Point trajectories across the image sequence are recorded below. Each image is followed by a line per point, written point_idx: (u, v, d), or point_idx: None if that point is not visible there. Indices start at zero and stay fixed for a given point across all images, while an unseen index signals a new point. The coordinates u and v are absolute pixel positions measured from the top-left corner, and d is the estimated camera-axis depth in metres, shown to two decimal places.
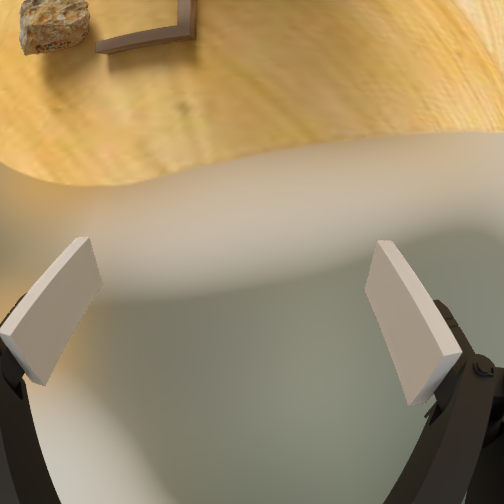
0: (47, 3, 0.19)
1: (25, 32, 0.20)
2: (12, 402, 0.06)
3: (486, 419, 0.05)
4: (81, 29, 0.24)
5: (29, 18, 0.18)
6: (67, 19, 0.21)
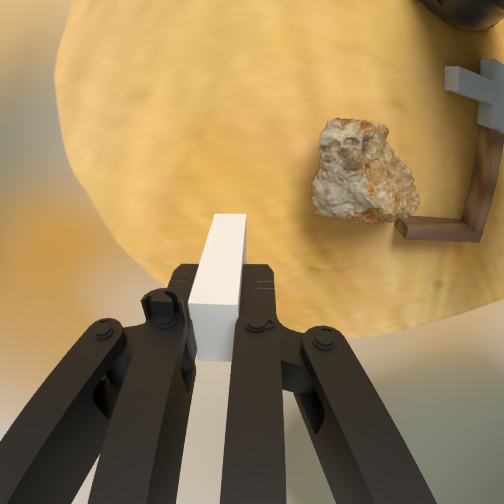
0: (374, 154, 0.24)
1: (354, 203, 0.24)
2: (179, 399, 0.07)
3: (280, 373, 0.07)
4: None
5: (383, 197, 0.22)
6: (407, 203, 0.25)
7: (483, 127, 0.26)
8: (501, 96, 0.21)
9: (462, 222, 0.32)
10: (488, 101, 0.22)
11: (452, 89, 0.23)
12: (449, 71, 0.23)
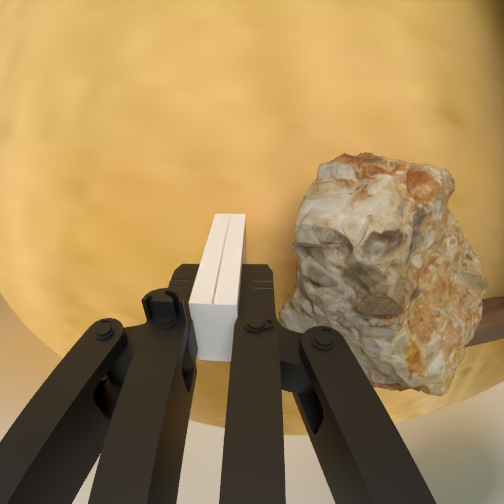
0: (427, 250, 0.10)
1: (369, 369, 0.10)
2: (180, 399, 0.07)
3: (279, 373, 0.07)
4: None
5: (437, 372, 0.08)
6: None
7: None
8: None
9: None
10: None
11: None
12: None
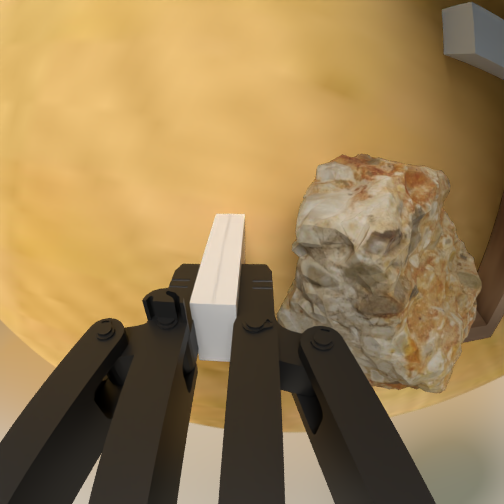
0: (424, 250, 0.10)
1: (368, 368, 0.10)
2: (180, 399, 0.07)
3: (279, 373, 0.07)
4: None
5: (436, 369, 0.08)
6: None
7: None
8: None
9: None
10: None
11: (461, 51, 0.09)
12: (451, 16, 0.09)
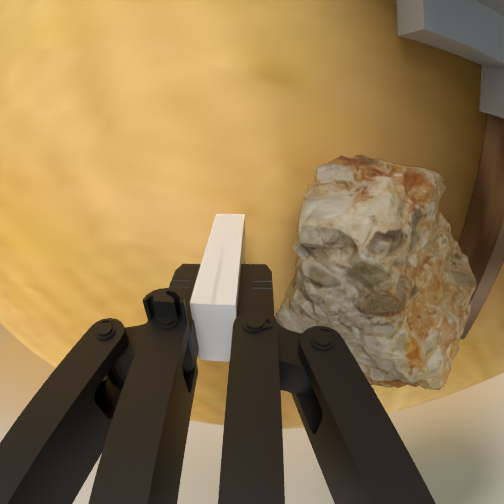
0: (422, 250, 0.10)
1: (368, 366, 0.10)
2: (181, 399, 0.07)
3: (278, 373, 0.07)
4: None
5: (435, 366, 0.08)
6: None
7: (492, 118, 0.11)
8: None
9: None
10: (502, 59, 0.08)
11: (412, 29, 0.09)
12: None
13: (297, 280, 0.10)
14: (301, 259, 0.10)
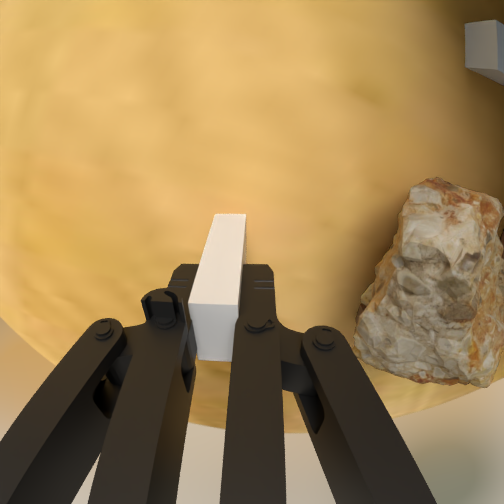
0: (483, 266, 0.10)
1: (434, 365, 0.11)
2: (179, 399, 0.07)
3: (280, 373, 0.07)
4: None
5: (488, 367, 0.09)
6: None
7: None
8: None
9: None
10: None
11: (483, 66, 0.09)
12: (475, 31, 0.09)
13: (389, 287, 0.11)
14: (397, 269, 0.10)
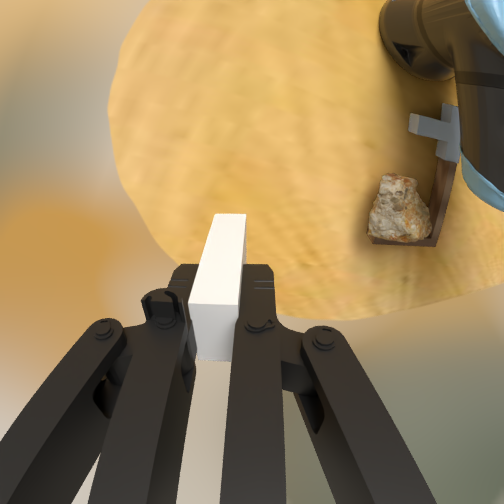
0: (409, 200, 0.37)
1: (395, 230, 0.38)
2: (179, 399, 0.07)
3: (280, 373, 0.07)
4: None
5: (413, 228, 0.36)
6: (424, 230, 0.39)
7: (440, 158, 0.39)
8: (455, 134, 0.34)
9: None
10: (443, 139, 0.35)
11: (413, 132, 0.36)
12: (412, 117, 0.36)
13: (377, 203, 0.38)
14: (379, 197, 0.37)
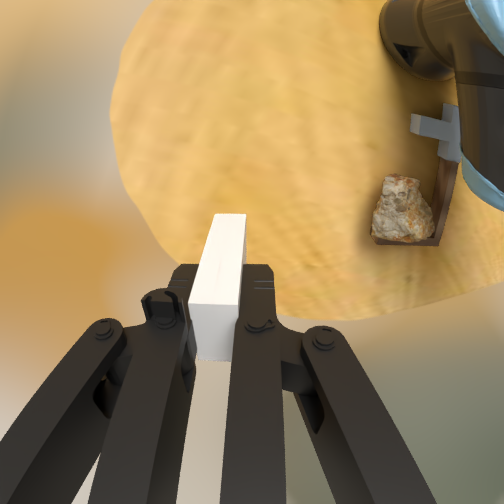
0: (411, 200, 0.37)
1: (399, 230, 0.38)
2: (179, 399, 0.07)
3: (280, 373, 0.07)
4: None
5: (417, 228, 0.36)
6: (427, 230, 0.39)
7: (442, 158, 0.39)
8: (457, 133, 0.34)
9: None
10: (445, 139, 0.35)
11: (415, 132, 0.36)
12: (414, 118, 0.36)
13: (380, 204, 0.38)
14: (382, 198, 0.37)
